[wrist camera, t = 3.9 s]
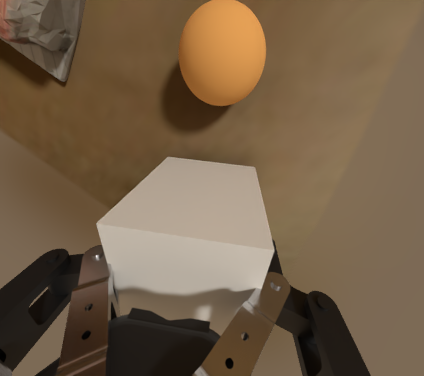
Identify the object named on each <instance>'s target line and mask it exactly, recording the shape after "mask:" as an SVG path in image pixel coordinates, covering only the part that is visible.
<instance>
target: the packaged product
mask: <svg viewBox="0 0 424 376" xmlns="http://www.w3.org/2000/svg"><path fill="white" fill-rule="evenodd" d="M85 1H86V0H0V39H2V40H3V41H5V42H6V43H8V44H10V45H11V46H12V47H13V48H15V49H16V50H17V51H19V52H20V53H22V54H23V55H25V56H26V57H27V58H29V59H30V60H32V61H33V62H34V63H36V64H37V65H39V66H40V67H42V68H43V69H44V70H46V71H47V72H49V73H50V74H51V75H53V76H54V77H56V78H58V79H59V80H61V81H63V82H65V81H66V80H67V79H68V75H69V71H70V67H71V64H72V60H73V55H74V51H75V47H76V43H77V39H78V35H79V31H80V27H81V22H82V17H83V11H84V6H85Z"/></svg>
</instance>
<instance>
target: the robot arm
mask: <svg viewBox="0 0 424 376" xmlns="http://www.w3.org/2000/svg"><path fill="white" fill-rule="evenodd" d="M272 242H273V246H274V250H275V251H274V253H273V256H272V259H271V262H270V265H269V268H268V271H267V274H266V277H265V280H264V283H263V286H262V289H259V288H256V289H255V291H254V292H253V294H252V295H251V297H250V298H249V300H248V301H245V302H244V303H243V304H242V306H241V307H240V309H239V310H238V312H237V313H236V315H235V316H234V318H233V319H232V321H231V322H230V324H229V325H228V326H227V328H226V329H225V331H224V332H223V334H222V335H221V336H220V335H219V334H218V333H216V332H215V331H214V330H212V329H210V328H209V327H210V322H209V321H203V320H198V319H192V318H187V319H178V320H167V319H165V318H163V317H161V316H159V315H158V314H156V313H154V312H152V311H149V310H143V309H138V308H132V309H131V311H130V313H129V314H126V315H122V316H121V315H120V307H119V293H118V289H114V286H113V270H112V266H111V264H109V263H107V261H106V257H105V254H104V250H103V246H102V245H98V246H95V247H93V248H91V249H89V250H88V251H86V252H85V254H77V255H69V254H68V251H66V250H65V249H55V250H51V251H49V252H47V253H45V254H43V255H42V256H40V257H39V258H38V259H37V260H36V261H34V262H33V263H32V264H31V265H29V266H28V267H27V268H26V269H25V270H23V271H22V272H21V273H20V274H19V275H17V276H16V277H15V278H14V279H12V280H11V281H10V282H9V283H7V284H6V285H5V286H4V287H3V288H1V289H0V376H12V371H13V370H14V369H15V368H16V367H17V365H18V364H19V363H20V362H21V360H22V359H23V358H24V357H25V356H26V354H27V353H28V352H29V351H30V349H31V348H32V347H33V346H34V345H35V343H36V342H37V341H38V340H39V339H40V337H41V336H42V335H43V334H44V332H45V331H46V330H47V329H48V328H49V326H50V325H51V324H52V322H53V321H54V320H55V319H56V318H57V316H58V315H59V314H60V313H61V312H62V310H63V309H64V308H65V307H66V306H67V304H68V303H69V302H70V306H69V312H68V317H67V322H66V328H65V333H64V339H63V344H62V349H61V355H60V357H59V358H58V359H57V360H56V361H54V362H53V363H52V364H50V365H49V366H47V367H46V368H45V369H43V370H42V371H40V372H39V373H38V374H36V375H35V376H251V374H252V372H253V370H254V367H255V365H256V363H257V361H258V359H259V357H260V354H261V352H262V350H263V348H264V346H265V344H266V342H267V340H268V338H269V336H270V333H271V331H272V329H273V327H274V325H275V324H276V325H278V326H280V327H281V328H283V329H285V330H287V331H289V332H291V333H292V334H293V338H294V342H295V346H296V350H297V354H298V358H299V363H300V366H301V371H302V375H303V376H370V373H369V371H368V369H367V367H366V365H365V363H364V361H363V359H362V357H361V355H360V353H359V351H358V348H357V346H356V344H355V342H354V340H353V338H352V336H351V334H350V332H349V330H348V328H347V326H346V324H345V321H344V319H343V318H342V315H341V313H340V311H339V309H338V307H337V305H336V304H335V302H334V301H333V300H332V299H331V298H330V297H328V296H327V295H326V294H324V293H322V292H319V291H312V292H310V293H309V294H306V293H303V292H301V291H299V290H297V289H295V288H293V287H292V286H291V285H290V284H289V282H288V281H287V279H286V278H285V277H284V276H283V274H282V270H281V266H280V262H279V258H278V255H277V250H276V246H275V242H274V240H273V239H272ZM46 287H48V289H47V290H46V291H45V292H44V293H43V295H41V296H40V298H38V300H37V301H36V302H35V303H34V304H33V305H32V306H31V307H30V308H29V306H30V304H31V303H32V302H33V300H34V299H35V298H36V297H37V296H38V295H39V294H40V293H41V292H42V291H43V290H44V289H45V288H46Z"/></svg>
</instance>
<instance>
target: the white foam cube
mask: <svg viewBox="0 0 424 376" xmlns="http://www.w3.org/2000/svg"><path fill="white" fill-rule="evenodd" d="M96 225H97V229H98V232H99V236H100V239H101V243H102V246H103V250H104V254H105V257H106V261H107V263H109V264H111V266H112V270H113V286H114V289H118V293H119V307H120V311H121V314H122V315H126V314H129V313H130V311H131V309H132V308H138V309H143V310H149V311H152V312H154V313H156V314H158V315H159V316H161V317H163V318H165V319H167V320H178V319H187V318H192V319H198V320H203V321H209V322H210V327H209V328H210V329H212V330H214V331H215V332H216V333H218V334H219V335H220V336H221V335H222V334H223V332H224V331H225V329H226V328H227V326H228V325H229V324H230V322H231V321H232V319H233V318H234V316H235V315H236V313H237V312H238V310H239V309H240V307H241V306H242V304H243V303H244V302H245V301H248V300H249V298H250V297H251V295H252V294H253V292H254V291H255V289H256V288H259V289H262V286H263V283H264V280H265V277H266V274H267V271H268V268H269V265H270V262H271V259H272V256H273V253H274V251H275V250H274V246H273V242H272V237H271V233H270V229H269V225H268V220H267V216H266V212H265V208H264V203H263V199H262V195H261V191H260V186H259V182H258V178H257V174H256V169H255V167H249V166H241V165H233V164H224V163H216V162H208V161H199V160H191V159H183V158H174V157H167V158H166V159H165V160H164V161H163V162H162V163H161V164H160V165H159V166H158V167H157V168H155V169H154V170H153V171H152V172H151V173H150V174H149V175H148V176H147V177H146V178H145V179H144V180H143V181H141V182H140V183H139V184H138V185H137V186H136V187H135V188H134V189H133V190H132V191H131V192H130V193H128V194H127V195H126V196H125V197H124V198H123V199H122V200H121V201H120V202H119V203H118V204H117V205H115V206H114V207H113V208H112V209H111V210H110V211H109V212H108V213H107V214H106V215H105V216H104V217H103V218H101V220H99V221H98V222H97V223H96Z"/></svg>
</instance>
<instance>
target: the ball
mask: <svg viewBox="0 0 424 376" xmlns="http://www.w3.org/2000/svg"><path fill="white" fill-rule="evenodd" d="M265 57H266V44H265V37H264V33H263V30H262V27H261V25H260V23H259V21H258V19H257V18H256V16H255V15H254V13H253V12H252V11H251V10H250V9H249V8H248V7H246V6H245V5H244V4H242V3H240V2H238V1H235V0H212V1H209V2H207V3H205V4H204V5H202V6H201V7H199V8H198V9H197V10H196V11H195V12H194V13H193V14H192V15H191V17H190V18H189V20H188V21H187V23H186V25H185V27H184V30H183V32H182V35H181V39H180V44H179V64H180V69H181V73H182V76H183V78H184V80H185V82H186V84H187V86H188V87H189V89H190V90H191V91H192V93H193V94H194V95H195V96H196V97H198V98H199V99H200V100H202V101H204V102H206V103H208V104H211V105H216V106H227V105H231V104H234V103H236V102H238V101H240V100H242V99H243V98H245V97H246V96H247V95H248V94H249V93H250V92H251V91H252V90H253V88H254V87H255V86H256V84H257V82H258V81H259V79H260V76H261V74H262V71H263V68H264V64H265Z"/></svg>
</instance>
